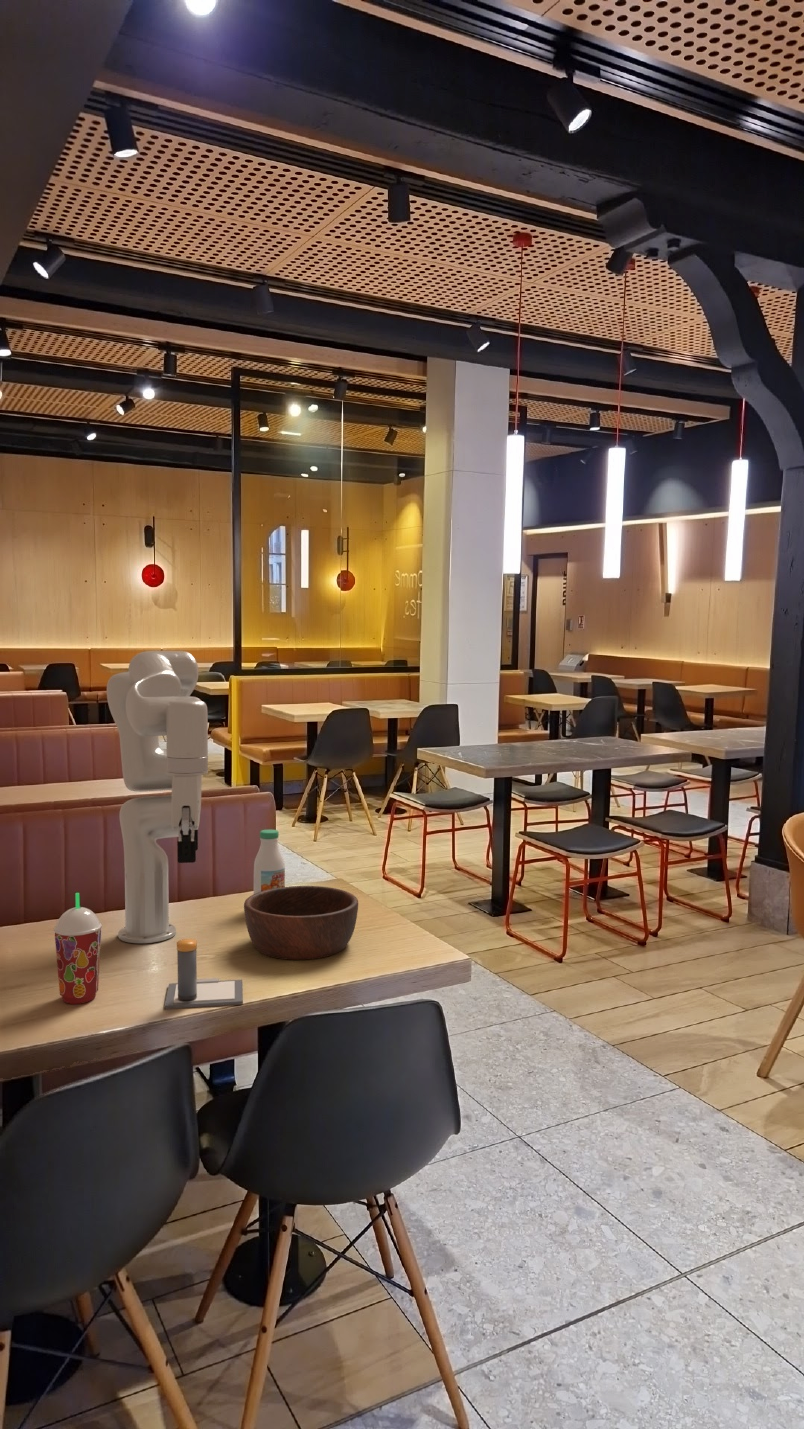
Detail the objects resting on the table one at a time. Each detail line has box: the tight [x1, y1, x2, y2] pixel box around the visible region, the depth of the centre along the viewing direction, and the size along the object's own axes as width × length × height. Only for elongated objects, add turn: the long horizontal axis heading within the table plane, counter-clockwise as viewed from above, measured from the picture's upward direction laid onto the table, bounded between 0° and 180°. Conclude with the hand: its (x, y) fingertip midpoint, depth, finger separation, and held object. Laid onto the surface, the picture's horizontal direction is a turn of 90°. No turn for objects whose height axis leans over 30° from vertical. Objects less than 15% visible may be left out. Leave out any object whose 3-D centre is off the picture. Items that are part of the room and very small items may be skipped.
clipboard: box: [164, 977, 244, 1010], centre depth 172 cm, size 11×14×1 cm
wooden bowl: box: [243, 885, 359, 961], centre depth 201 cm, size 25×25×10 cm
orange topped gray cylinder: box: [176, 938, 198, 1002], centre depth 169 cm, size 4×4×11 cm
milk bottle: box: [253, 829, 286, 894], centre depth 227 cm, size 8×8×20 cm
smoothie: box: [53, 892, 103, 1005], centre depth 170 cm, size 8×8×20 cm
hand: (188, 856), depth 172 cm, fingers open, 9 cm apart
